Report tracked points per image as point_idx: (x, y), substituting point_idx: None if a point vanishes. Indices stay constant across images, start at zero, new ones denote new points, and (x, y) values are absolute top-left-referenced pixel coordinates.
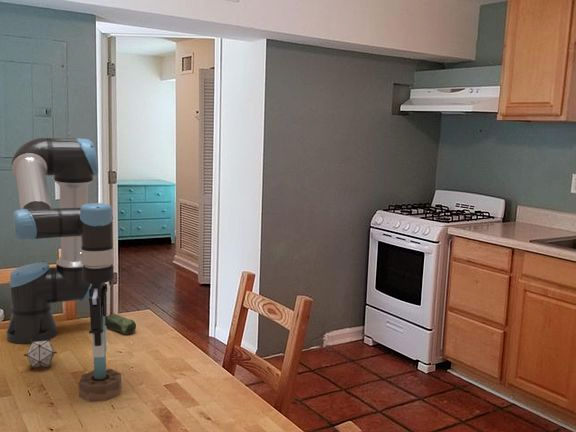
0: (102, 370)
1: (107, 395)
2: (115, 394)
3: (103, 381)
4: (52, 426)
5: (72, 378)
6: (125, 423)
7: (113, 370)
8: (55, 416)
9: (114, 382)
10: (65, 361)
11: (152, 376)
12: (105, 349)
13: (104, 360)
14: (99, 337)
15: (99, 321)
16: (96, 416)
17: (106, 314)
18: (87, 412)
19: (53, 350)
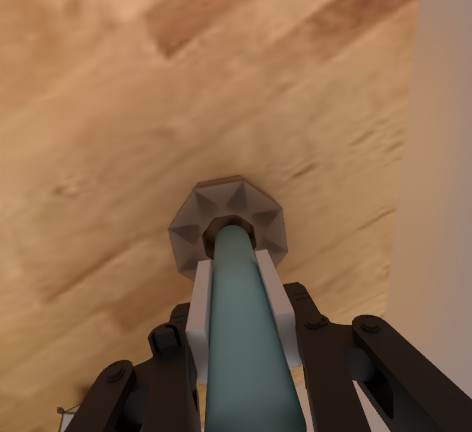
0: (247, 239)
1: (272, 199)
2: (250, 183)
3: (255, 223)
4: (386, 269)
5: (159, 316)
6: (388, 115)
7: (176, 219)
8: (345, 280)
9: (257, 190)
10: (64, 368)
11: (112, 110)
12: (234, 262)
13: (242, 246)
14: (317, 310)
15: (459, 396)
16: (350, 195)
17: (98, 406)
18: (330, 222)
19: (66, 420)
